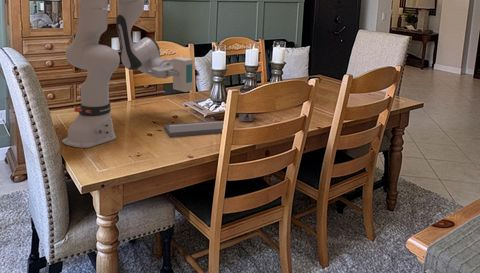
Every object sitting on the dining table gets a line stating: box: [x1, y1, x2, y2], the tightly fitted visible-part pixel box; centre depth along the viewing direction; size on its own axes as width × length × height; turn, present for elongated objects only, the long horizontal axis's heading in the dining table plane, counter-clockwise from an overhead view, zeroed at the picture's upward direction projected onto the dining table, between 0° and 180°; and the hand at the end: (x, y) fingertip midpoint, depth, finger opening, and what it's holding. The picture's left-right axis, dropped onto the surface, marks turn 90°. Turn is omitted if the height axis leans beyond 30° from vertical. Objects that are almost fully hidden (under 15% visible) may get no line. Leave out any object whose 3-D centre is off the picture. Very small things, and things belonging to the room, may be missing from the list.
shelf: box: [163, 120, 225, 138], centre depth 222 cm, size 25×12×5 cm, turn 110°
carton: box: [172, 56, 194, 93], centre depth 223 cm, size 5×8×14 cm, turn 49°
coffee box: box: [238, 84, 257, 122], centre depth 239 cm, size 9×6×16 cm
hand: (183, 73), depth 222 cm, fingers closed on carton, 5 cm apart
